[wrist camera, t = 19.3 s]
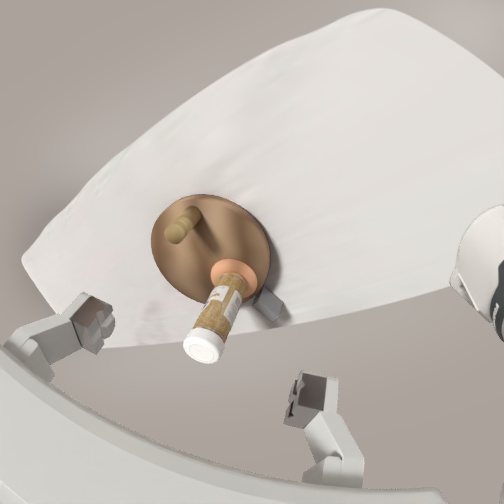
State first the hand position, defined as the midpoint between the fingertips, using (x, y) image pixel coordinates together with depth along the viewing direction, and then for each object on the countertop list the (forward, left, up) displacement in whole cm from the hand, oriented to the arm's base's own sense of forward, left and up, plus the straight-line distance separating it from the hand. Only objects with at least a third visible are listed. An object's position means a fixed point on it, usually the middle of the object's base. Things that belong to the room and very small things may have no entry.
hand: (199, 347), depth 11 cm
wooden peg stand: (-1, +18, -29) cm, 34 cm away
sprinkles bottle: (-6, +18, -26) cm, 32 cm away
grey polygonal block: (-13, +18, -29) cm, 37 cm away
